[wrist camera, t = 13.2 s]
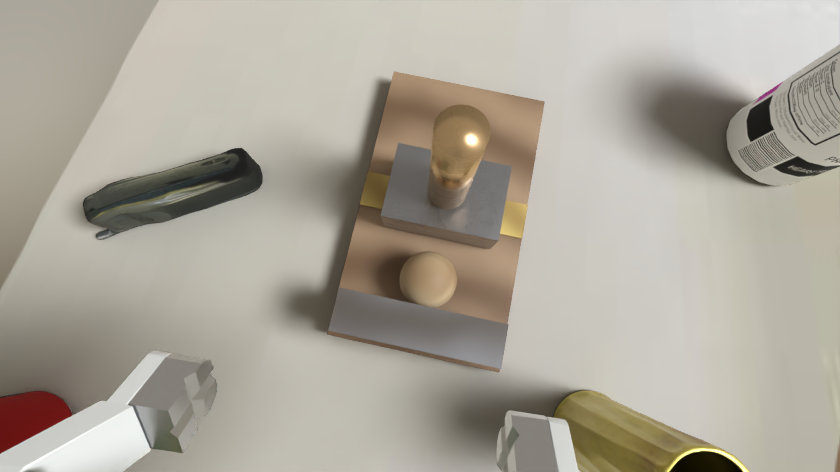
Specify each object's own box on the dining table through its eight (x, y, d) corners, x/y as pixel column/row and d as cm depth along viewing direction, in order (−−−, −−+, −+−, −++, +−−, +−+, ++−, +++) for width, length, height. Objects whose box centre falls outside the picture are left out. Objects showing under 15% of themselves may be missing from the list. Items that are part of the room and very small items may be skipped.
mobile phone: (239, 138, 34) (49, 200, 32) (250, 170, 33) (57, 235, 31) (260, 162, 39) (96, 217, 37) (269, 190, 38) (103, 248, 36)
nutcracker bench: (494, 369, 35) (514, 381, 28) (331, 333, 35) (311, 336, 28) (537, 112, 39) (563, 68, 33) (394, 83, 40) (390, 34, 33)
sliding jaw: (489, 249, 34) (538, 201, 21) (384, 226, 35) (364, 165, 21) (502, 182, 36) (555, 96, 22) (399, 160, 36) (391, 63, 22)
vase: (538, 446, 33) (628, 535, 19) (569, 376, 34) (674, 412, 21) (608, 485, 33) (751, 605, 19) (637, 412, 34) (792, 475, 20)
